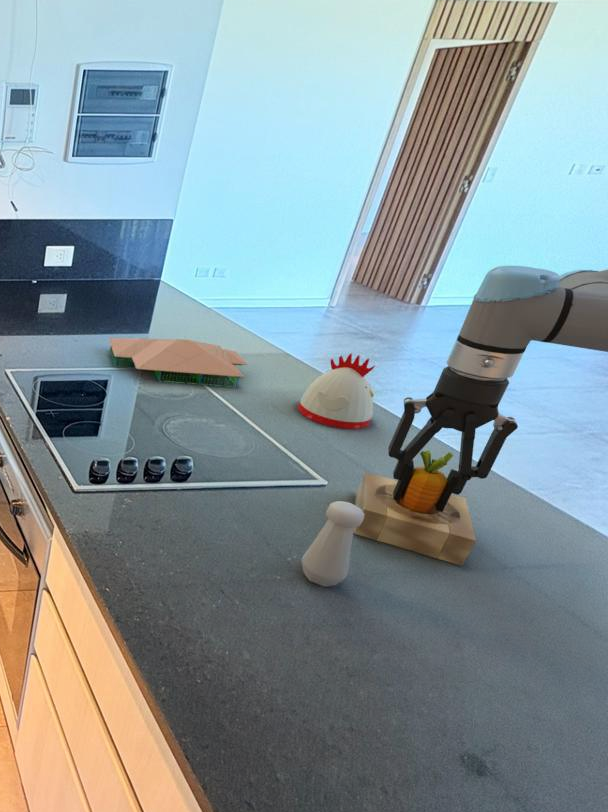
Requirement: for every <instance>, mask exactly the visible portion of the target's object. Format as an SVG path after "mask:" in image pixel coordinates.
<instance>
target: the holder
mask: <svg viewBox="0 0 608 812" xmlns="http://www.w3.org/2000/svg"><path fill="white" fill-rule="evenodd" d="M397 482H398V480H397V479H394V478H389V477H384V476H381V475H376V474H373V473H369V472H364V474H363V477H362V479H361V481H360V484H359V486H358V489H357V491H356V493H355V502H354V505H356V506H357V507H359V508H360V509H361V510H362V511H363V513H364V519H363V522H362V523H361V525H360V526H359V527H356V528H354V532H353V535H354V534H355V535H357V536H360V537H364V538H367V539H370V540H373V541H378V542H381V543H383V544H388V545H390V546H394V547H396V548H397V547H398V548H401V549H404V550H407V551H411V552H414V553H418V554H421V555H424V556H427V557H431V558H434V559H437V560H441V561H444V562H448V563H450V564H454V565H457V566H461V567H463V565H464V564H465V562H466V560H467V559H468V557H469V555H470V552H471V551H472V549H473V547H474V545H475V543H476V541H477V540H476V536H475V531H474V528H473V527H474V526H473V522H472V519H471V514H470V510H469V506H468V501H467V498H465V497H462V496H459V495H456V494H451V496H450V498H449V500H448V502H447V504H446V506H445V508H444V510H443V512H440V511H436V505H435V506H434V508H433V509H432V510H431V511H430V512H429V513H428V514H421V513H417V512H413V511H411V510H408V509H406V508H404V507H402V506H401V505H399V503H400V500H399V501H398V500H395V499H394V498H393V491H394V489H395V486H396V484H397Z"/></svg>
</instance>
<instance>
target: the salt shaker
mask: <svg viewBox="0 0 608 812" xmlns="http://www.w3.org/2000/svg"><path fill="white" fill-rule="evenodd" d="M325 516H326V517H327V521H326V522H325V524H324V525H323V527H322V528H321V530H320V531H319V533H318V534H317V536H316V537H315V539H313V541H312V543H311V544H310V545H309V547H308V548H307V550H306V551H305V553H304V554H303V556H302V558H301V565H302V573H303V574H304V575H305V577H306V578H307V579H308V581H309V582H311V583H314V584H316V585H319V586H321V587H324V588H325V587H334V586H336V585H338V584H339V583H341V582H342V581H344V580H345V579H346V578H347V576H348V574H349V569H350V562H351V561H350V560H351V552H352V551H351V550H352V546H353V545H352V544H353V539H354V528H356V527H359V526H360V525H361V523H362V522H363V519H364V513H363V511H362V510H361V509H360V508H359V507H357V506H356V505H355V503H354V504H353V503H351V502H348V501H344V500H336V501H334V502H330V504H329V505H328V507H327V509H326V511H325Z"/></svg>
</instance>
